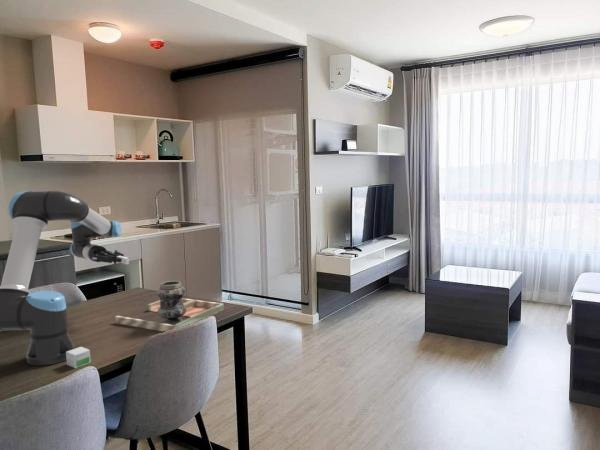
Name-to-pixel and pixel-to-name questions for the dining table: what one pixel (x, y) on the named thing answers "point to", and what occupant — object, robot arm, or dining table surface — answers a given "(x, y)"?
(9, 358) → the dining table surface
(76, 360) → the small box
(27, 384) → the dining table surface
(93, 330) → the dining table surface
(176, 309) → the apothecary jar
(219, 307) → the trap box
